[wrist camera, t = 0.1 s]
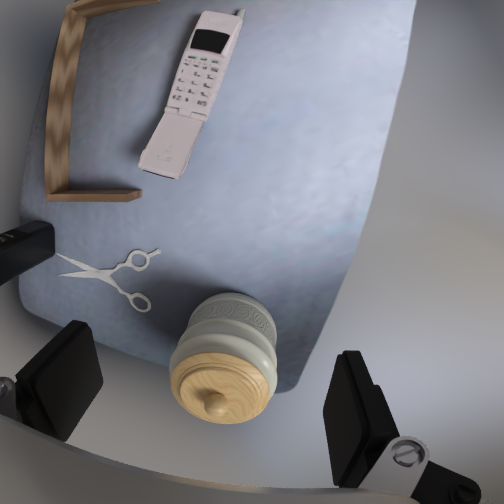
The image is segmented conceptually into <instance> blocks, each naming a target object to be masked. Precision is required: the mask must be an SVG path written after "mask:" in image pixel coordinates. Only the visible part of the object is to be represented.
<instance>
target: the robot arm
mask: <svg viewBox="0 0 504 504" xmlns="http://www.w3.org/2000/svg"><path fill="white" fill-rule="evenodd" d="M15 376H16V379H17V382H15V383H14V381H13V380H12V379H10V378H8V377H0V504H493V503H492V502H490V501H489V500H488V499H487V500H486V501H485V502H484V501H483V500H482V499H481V490H480V488H479V485H477V483H476V482H475V481H473V480H471V479H469V478H467V477H465V476H462V475H460V474H457V473H455V472H453V471H451V470H448V469H446V468H444V467H442V466H439V465H437V464H435V463H433V462H431V461H429V450H428V448H427V446H426V445H425V444H424V443H423V442H422V441H421V440H419V439H417V438H414V437H410V436H402V437H400V435H399V432H398V430H397V427H396V424H395V422H394V419H393V417H392V414H391V412H390V409H389V407H388V404H387V402H386V400H385V397H384V395H383V392H382V390H381V388H380V386H379V385H374V384H373V382H372V379H371V377H370V374H369V372H368V369H367V367H366V364H365V362H364V360H363V357H362V355H361V353H360V351H347V350H346V351H343V353H342V354H339V355H338V356H337V359H336V363H335V367H334V371H333V375H332V378H331V382H330V386H329V389H328V393H327V396H326V400H325V403H324V407H323V418H324V424H325V430H326V436H327V443H328V449H329V455H330V462H331V469H332V476H333V483H334V485H335V486H339V488H271V487H253V486H241V485H231V484H222V483H214V482H207V481H201V480H195V479H189V478H183V477H178V476H173V475H168V474H163V473H159V472H155V471H150V470H146V469H142V468H138V467H135V466H132V465H128V464H124V463H121V462H118V461H114V460H111V459H108V458H105V457H102V456H99V455H96V454H93V453H90V452H88V451H85V450H82V449H79V448H77V447H74V446H72V445H69V444H66V443H64V442H66V441H67V439H68V438H69V436H70V435H71V433H72V432H73V430H74V429H75V427H76V426H77V424H78V422H79V421H80V419H81V418H82V416H83V415H84V413H85V411H86V410H87V408H88V407H89V405H90V404H91V402H92V401H93V399H94V398H95V396H96V395H97V393H98V392H99V390H100V389H101V387H102V385H103V377H102V373H101V369H100V365H99V361H98V357H97V353H96V349H95V345H94V340H93V335H92V330H91V328H90V327H88V324H87V323H86V322H82V321H77V320H72V321H71V322H70V323H69V324H68V325H67V326H66V327H65V328H63V329H62V330H61V331H60V333H58V334H57V335H56V336H55V337H54V338H53V339H52V340H51V341H50V342H49V343H47V345H45V346H44V347H43V348H42V349H41V350H40V351H39V352H38V353H37V354H36V355H35V356H34V357H33V358H32V359H31V360H30V361H29V362H28V363H27V364H26V365H25V366H24V367H23V368H22V369H21V370H20V371H19V372H18V373H17V374H16V375H15Z"/></svg>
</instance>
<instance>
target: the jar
mask: <svg viewBox="0 0 504 504" xmlns="http://www.w3.org/2000/svg"><path fill="white" fill-rule="evenodd" d="M276 339H277V336H276V327H275V324H274V321H273V319H272V317H271V315H270V313H269V312H268V310H267V309H266V308H265V307H264V306H263V305H262V304H261V303H260V302H258V301H257V300H255V299H254V298H252V297H250V296H247V295H244V294H240V293H221V294H217V295H214V296H211V297H209V298H208V299H206V300H205V301H203V302H202V303H201V304H200V305H199V306H198V307H197V308H196V309H195V310H194V312H193V313H192V315H191V317H190V319H189V322H188V326H187V328H186V330H185V332H184V334H183V335H182V336H181V338H180V340H179V342H178V345H177V348H176V350H175V351H174V352H173V354H172V356H171V359H170V363H169V374H170V378H171V381H170V382H171V389H172V392H173V394H174V396H175V398H176V400H177V401H178V402H179V404H180V405H181V406H182V407H183V408H184V409H186V410H187V411H188V412H190V413H191V414H193V415H195V416H196V417H198V418H201V419H203V420H206V421H209V422H214V423H220V424H234V423H240V422H244V421H247V420H250V419H252V418H254V417H255V416H257V415H258V414H259V413H260V412H262V411H263V410H264V408H265V407H266V405H267V403H268V401H269V399H270V398H271V396H272V395H273V394H274V392H275V389H276V386H277V372H276V367H277V358H276V354H275V345H276Z"/></svg>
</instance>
